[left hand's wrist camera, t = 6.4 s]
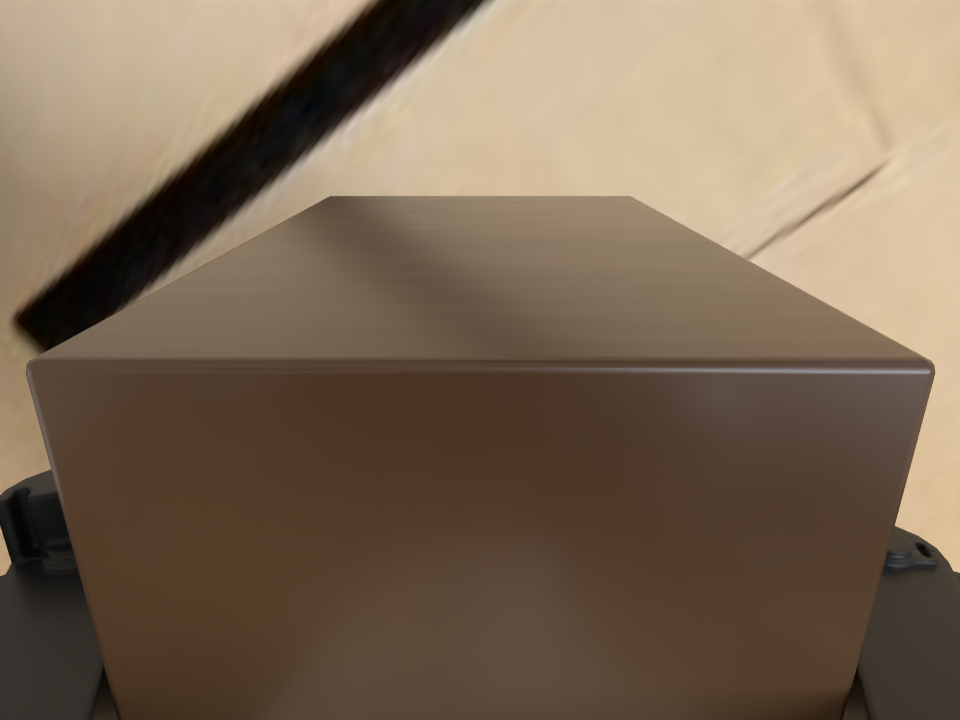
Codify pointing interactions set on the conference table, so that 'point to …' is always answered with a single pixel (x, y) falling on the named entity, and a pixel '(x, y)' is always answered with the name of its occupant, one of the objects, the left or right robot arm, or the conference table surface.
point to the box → (480, 472)
